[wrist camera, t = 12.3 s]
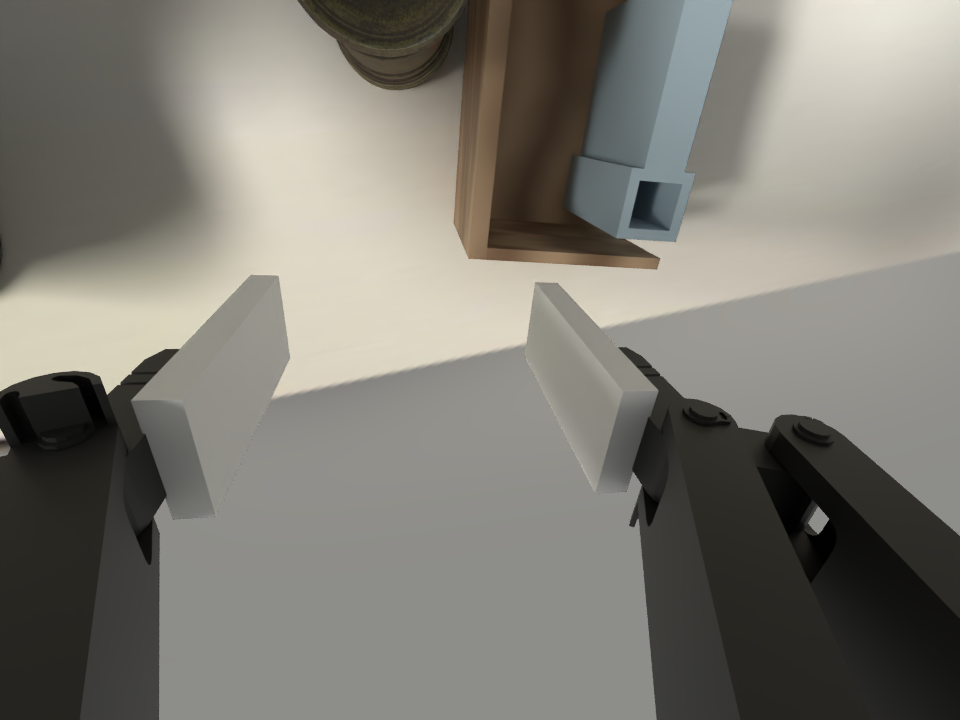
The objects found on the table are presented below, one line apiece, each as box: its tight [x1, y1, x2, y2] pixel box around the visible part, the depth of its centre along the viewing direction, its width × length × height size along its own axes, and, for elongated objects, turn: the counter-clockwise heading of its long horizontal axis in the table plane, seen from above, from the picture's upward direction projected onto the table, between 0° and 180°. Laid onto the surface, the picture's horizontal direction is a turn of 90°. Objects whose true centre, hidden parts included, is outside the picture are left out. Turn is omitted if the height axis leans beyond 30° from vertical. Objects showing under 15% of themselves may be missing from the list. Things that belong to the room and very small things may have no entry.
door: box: [563, 0, 733, 242], centre depth 32 cm, size 5×14×12 cm, turn 175°
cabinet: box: [454, 0, 660, 269], centre depth 32 cm, size 14×19×12 cm
